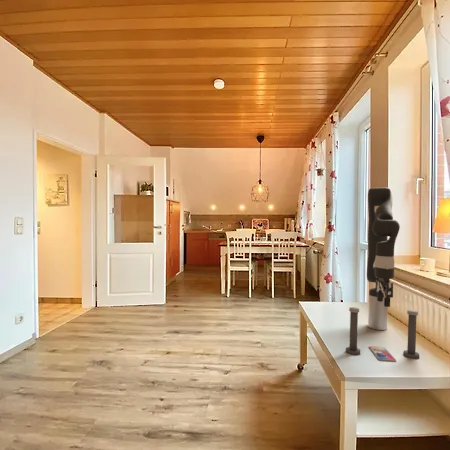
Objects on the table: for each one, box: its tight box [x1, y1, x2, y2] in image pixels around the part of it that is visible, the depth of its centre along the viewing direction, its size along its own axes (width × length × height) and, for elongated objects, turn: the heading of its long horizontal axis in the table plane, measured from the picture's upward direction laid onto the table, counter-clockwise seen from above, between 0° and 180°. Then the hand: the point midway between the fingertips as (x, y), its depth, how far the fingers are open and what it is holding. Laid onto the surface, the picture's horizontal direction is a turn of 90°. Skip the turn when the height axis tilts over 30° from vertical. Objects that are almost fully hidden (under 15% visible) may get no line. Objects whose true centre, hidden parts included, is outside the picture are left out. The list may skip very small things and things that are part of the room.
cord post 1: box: [345, 306, 361, 356], centre depth 147 cm, size 6×6×19 cm
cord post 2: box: [402, 309, 420, 360], centre depth 145 cm, size 6×6×19 cm
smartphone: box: [368, 345, 397, 363], centre depth 146 cm, size 7×1×15 cm
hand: (383, 303), depth 146 cm, fingers open, 8 cm apart
